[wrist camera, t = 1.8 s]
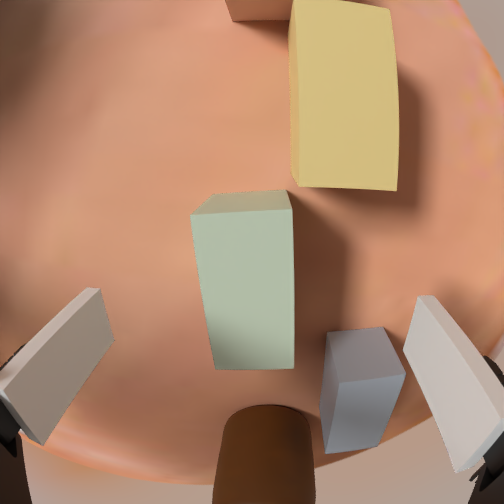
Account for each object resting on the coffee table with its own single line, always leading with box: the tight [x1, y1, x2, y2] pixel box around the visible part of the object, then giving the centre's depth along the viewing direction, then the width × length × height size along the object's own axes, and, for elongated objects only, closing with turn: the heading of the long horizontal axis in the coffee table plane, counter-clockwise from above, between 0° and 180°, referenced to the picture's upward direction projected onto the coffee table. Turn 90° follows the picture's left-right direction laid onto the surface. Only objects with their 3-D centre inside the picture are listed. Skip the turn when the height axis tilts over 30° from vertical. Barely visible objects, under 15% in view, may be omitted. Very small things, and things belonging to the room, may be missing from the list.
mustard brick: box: [288, 0, 399, 191], centre depth 12 cm, size 8×4×5 cm, turn 1°
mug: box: [212, 405, 316, 504], centre depth 19 cm, size 12×8×9 cm, turn 154°
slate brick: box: [319, 327, 406, 454], centre depth 18 cm, size 8×4×5 cm, turn 4°
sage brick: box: [190, 190, 294, 370], centre depth 15 cm, size 8×4×5 cm, turn 4°
